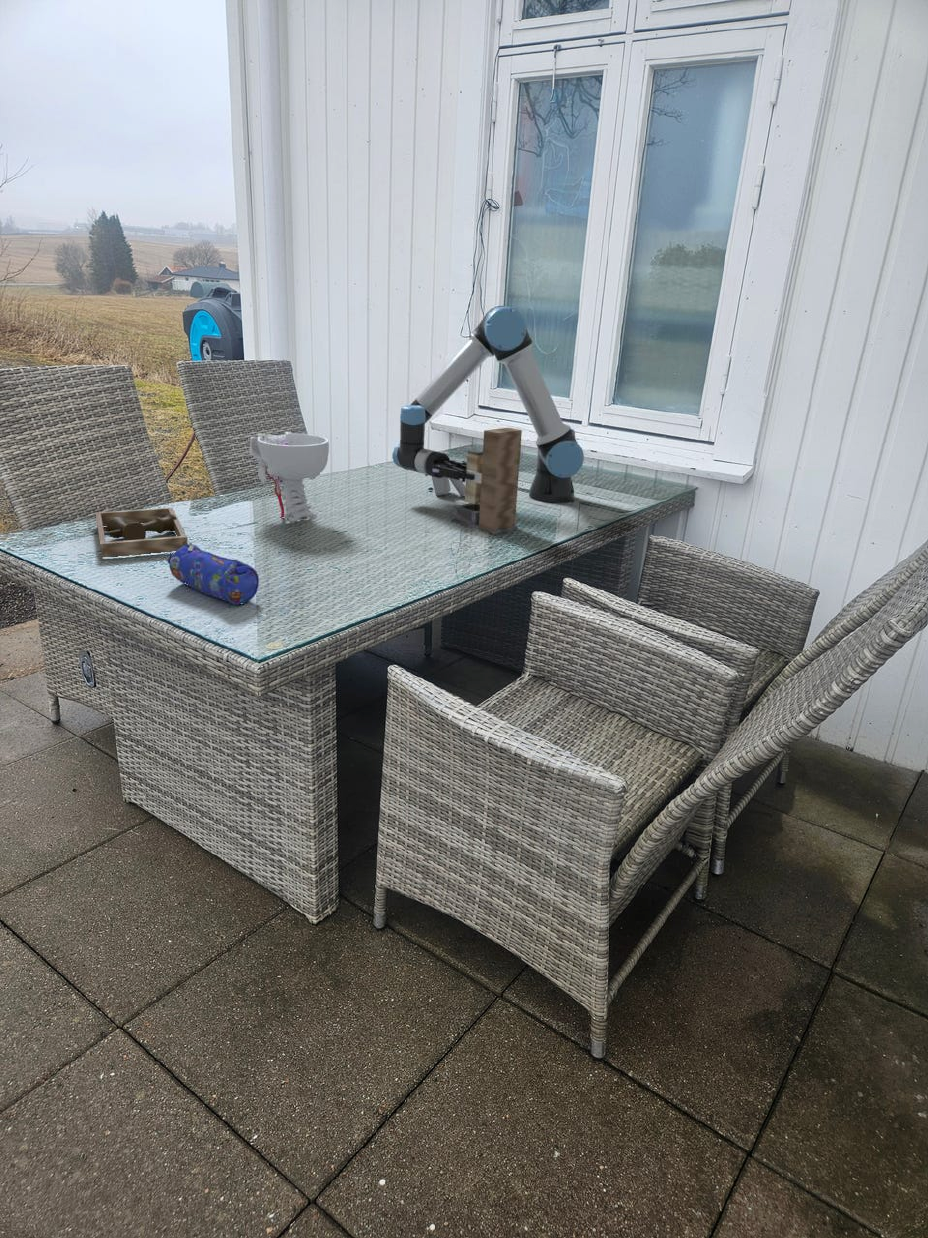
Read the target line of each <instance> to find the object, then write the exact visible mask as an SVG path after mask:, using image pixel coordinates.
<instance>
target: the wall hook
mask: <svg viewBox="0 0 928 1238" xmlns="http://www.w3.org/2000/svg"><path fill="white" fill-rule="evenodd" d="M431 480H432V485H433V491H434V494H435V496H436V497H439V496H441V497H442V496H446V495H448V494H449V493H450V492H451V484H452V485H453V487H454V488H455V489H456V492H457V493H458V494H459V496H460V497H463V496H465V488H466V484H465V483H464V482H462V479H460V480H456V479H452V478H448V477H442V478H436V477H433V476H431ZM450 482H451V483H450Z"/></svg>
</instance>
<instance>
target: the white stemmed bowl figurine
mask: <svg viewBox="0 0 928 1238" xmlns="http://www.w3.org/2000/svg"><path fill="white" fill-rule="evenodd" d="M249 439H250V446H249V451H248V453H249V457H252V456H253V457H254V458H255V459H256V460H257V464H258V471H257V473H258V474H257V475H258V479H259V480H260V482H261V484H262V485H265V483H267V479H268V478H267V476H268V477H269V479H271V480H272V481H274V485H275V486H274V493H275V495H276V497H277V500H278V503H279V504H278V505H279V506H280V511H281V514H280V518H281V517H284V518H283V519H284V520H285V519H287V520H285V523H286V522H290V521H291V522H294V523H295V521H298V520H300V519H302V520H303V519H304V518H302V517H306V518H305V519H307V518H308V517H309V519H312V520H313V521H315V520H316V519H317V513H316V512H315V511H312V512H310V509H312V507H313V506H312V505H310V504H307V503H308V500H307V498H306V493H305V490H304V489H305V487H306V486H305V484H303V481H304V479H310V480H312V481H314V480H315V478H317V477H318V475H320V474H321V473H322V472H323V471H324V470H325V469H326V467H327V464H328V461H329V452H330V445H329V444H330V443H329V442H330V441H329V439H328V438H326V437H324V436H320V435H318V434H317V435H316V434H306V433H292V431H285V432H284V434H283V435H282V434H281V435H275V434H272V433H269V434H265V433H257V437H255V436H251V437H250V438H249ZM266 475H267V476H266ZM272 476H273V477H272ZM281 485H282V486H281ZM280 486H281V487H280ZM282 492H283V495H282ZM283 501H285V502H284V503H283ZM285 507H286V508H285ZM285 512H286V513H285ZM291 517H292V518H291ZM298 522H299V521H298Z"/></svg>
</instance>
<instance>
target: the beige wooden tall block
mask: <svg viewBox="0 0 928 1238" xmlns="http://www.w3.org/2000/svg"><path fill="white" fill-rule="evenodd" d="M466 452H467V455H466V462H467V469H466V472H467V470H470V471H474V472H478V473H482V460H483V449H477V448H476V449H471V450H470V449H468V450H467V451H466ZM465 487H466V488H465V495H464V502H466V503H472V504H478V503H480V497H481V484H480V483H477V482H473V481H469V480H467V479H466V481H465Z"/></svg>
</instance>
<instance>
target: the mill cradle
mask: <svg viewBox="0 0 928 1238" xmlns="http://www.w3.org/2000/svg"><path fill="white" fill-rule="evenodd" d="M94 513H95V518H96V519H95V520H96V524H97V525H96V526H97V533H98V538H99V540H98V541H99V545H100V546H99V547H100V552H102V553H101V557H118V556H129V555H141V554H151V553H161V552H172V551H177V550H178V549H180V548H181V547H183V546H185V545H186V544H189V542H188V536H187V535H186V532H185V530H184V528H183V526H182V524H181V522H180V520H179V518H178V516H177V513H176V512H175V510H174V508H173V507H172V506H171V507H159V508H156V507H155V508H145V509H144V508H143V509H129V510H127V509H126V510H115V511H113V510H112V511H100V512H98V511H97V512H94ZM168 514H173V515H175V517H176V518H177V519H176V520H174V529H175V533H176V535H177V537H176V536H168V537H167V536H166V537H155V538H154V537H153V538H145V539H140V540H127V541H124V540H118V541H106V537H105V536H106V535H104V533H105V531H104V528H103V526H107V523H108V521H109V520H110V519H111V518H114V517H121V518H124V519H125V521H126V522H127V524H129V523H132V522H139V523H148V522H150V521H152V520H153V519H154V518H155V517H159V518H164V517H166V516H167V515H168ZM175 533H174V534H175Z"/></svg>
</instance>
